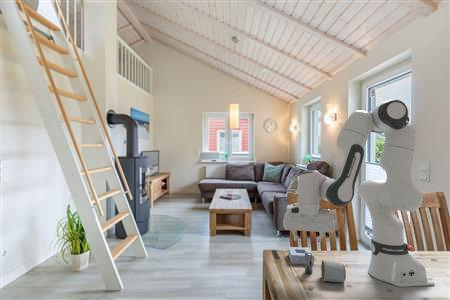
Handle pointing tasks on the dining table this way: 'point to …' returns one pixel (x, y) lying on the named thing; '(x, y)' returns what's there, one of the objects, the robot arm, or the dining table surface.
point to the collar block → (298, 255)
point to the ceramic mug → (333, 271)
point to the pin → (308, 263)
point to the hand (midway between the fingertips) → (307, 241)
